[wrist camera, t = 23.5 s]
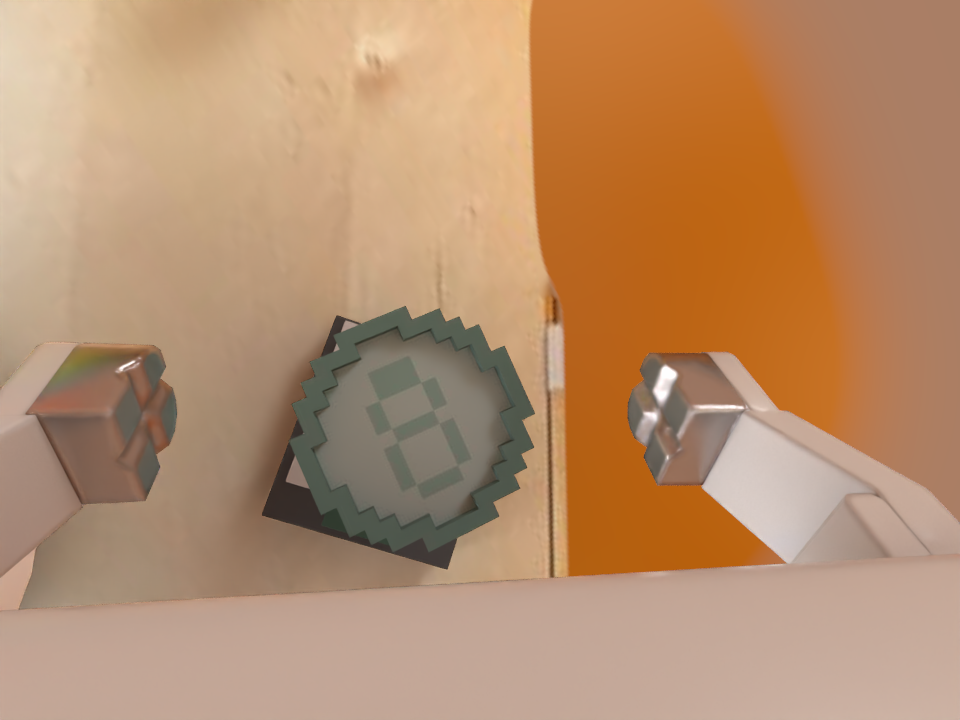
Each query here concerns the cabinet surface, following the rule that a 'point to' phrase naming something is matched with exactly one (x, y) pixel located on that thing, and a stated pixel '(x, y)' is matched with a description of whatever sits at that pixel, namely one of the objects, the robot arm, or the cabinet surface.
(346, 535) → the scale
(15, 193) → the cabinet surface
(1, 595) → the bowl
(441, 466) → the can
